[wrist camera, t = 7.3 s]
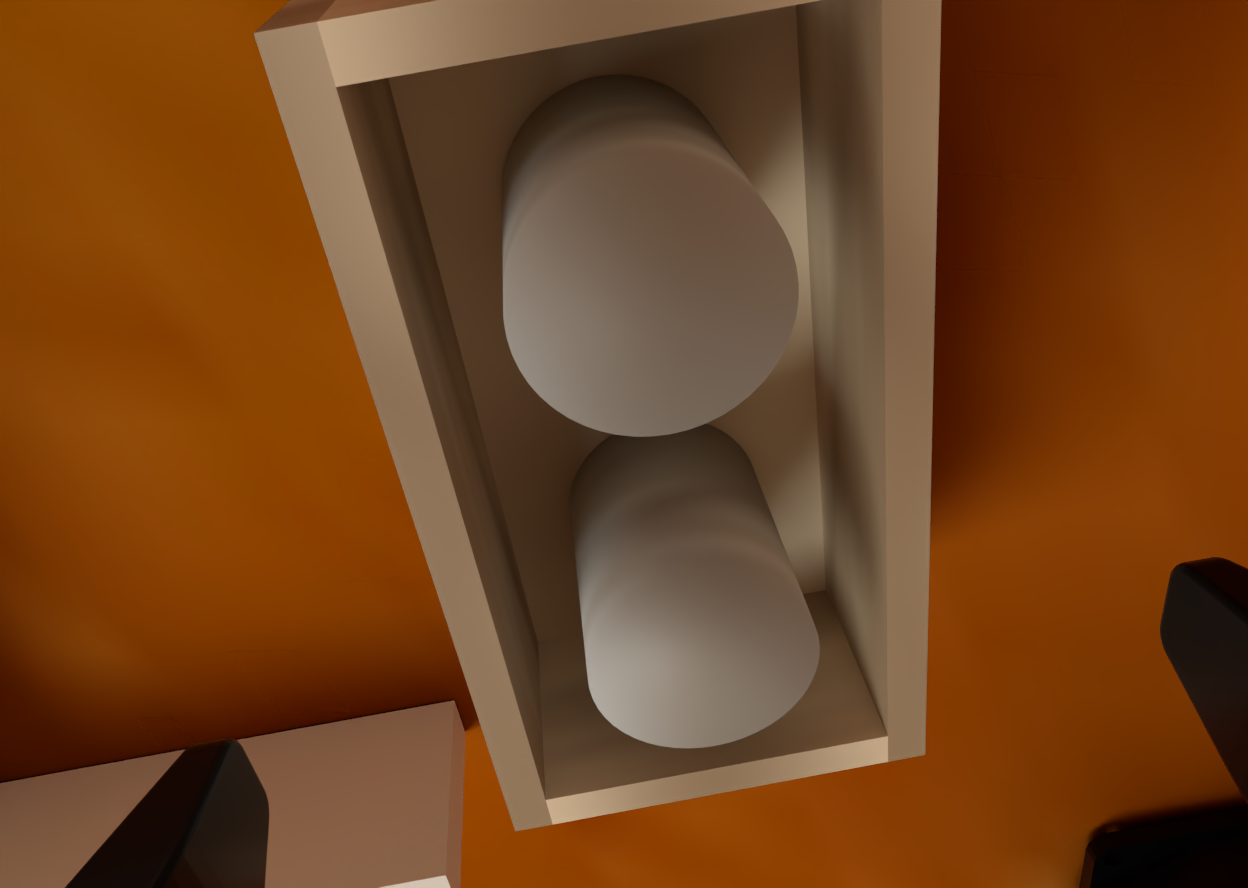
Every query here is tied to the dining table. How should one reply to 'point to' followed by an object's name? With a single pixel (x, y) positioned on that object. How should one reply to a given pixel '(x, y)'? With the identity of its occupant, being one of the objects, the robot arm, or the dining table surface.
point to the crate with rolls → (646, 364)
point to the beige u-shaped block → (278, 805)
